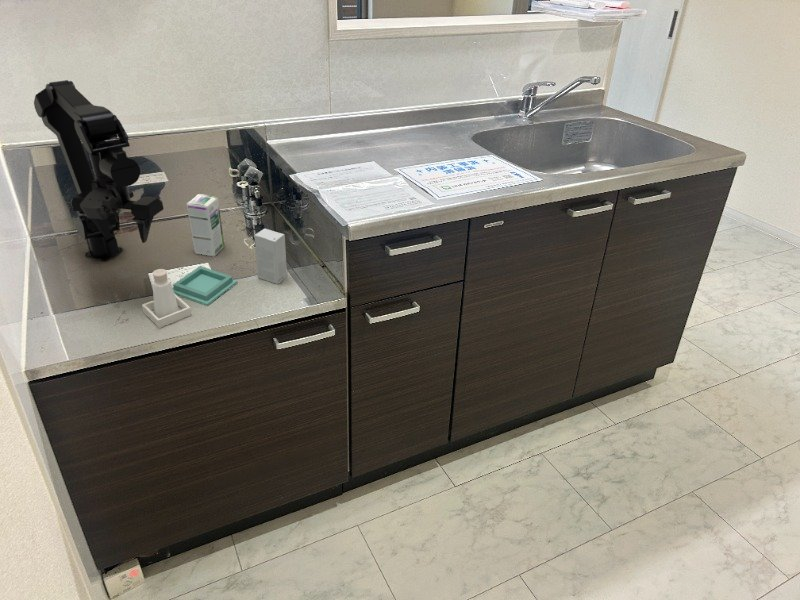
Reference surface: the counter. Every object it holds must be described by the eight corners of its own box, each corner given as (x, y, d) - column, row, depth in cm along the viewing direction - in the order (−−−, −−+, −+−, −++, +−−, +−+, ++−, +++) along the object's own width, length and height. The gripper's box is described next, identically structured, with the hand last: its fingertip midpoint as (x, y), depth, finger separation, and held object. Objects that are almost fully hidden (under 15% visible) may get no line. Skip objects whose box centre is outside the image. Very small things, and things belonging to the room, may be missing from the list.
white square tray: (143, 312, 134) (141, 304, 132) (175, 299, 138) (173, 292, 137) (159, 328, 129) (157, 320, 128) (191, 314, 134) (190, 307, 133)
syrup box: (215, 257, 154) (208, 206, 146) (193, 253, 155) (185, 202, 147) (224, 246, 159) (219, 196, 150) (203, 243, 159) (197, 192, 151)
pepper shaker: (171, 303, 137) (163, 262, 131) (185, 313, 134) (178, 271, 128) (149, 313, 133) (140, 271, 127) (163, 324, 131) (155, 281, 124)
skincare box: (287, 276, 149) (285, 234, 142) (277, 284, 146) (275, 241, 139) (267, 269, 151) (264, 227, 144) (257, 277, 148) (253, 234, 141)
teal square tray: (169, 292, 140) (168, 285, 139) (200, 270, 149) (199, 263, 148) (207, 306, 137) (206, 298, 136) (237, 282, 145) (236, 275, 144)
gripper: (43, 182, 121) (64, 251, 129) (126, 190, 118) (143, 261, 126) (79, 164, 130) (97, 229, 139) (157, 171, 127) (171, 238, 135)
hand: (126, 239), depth 134 cm, fingers open, 9 cm apart
